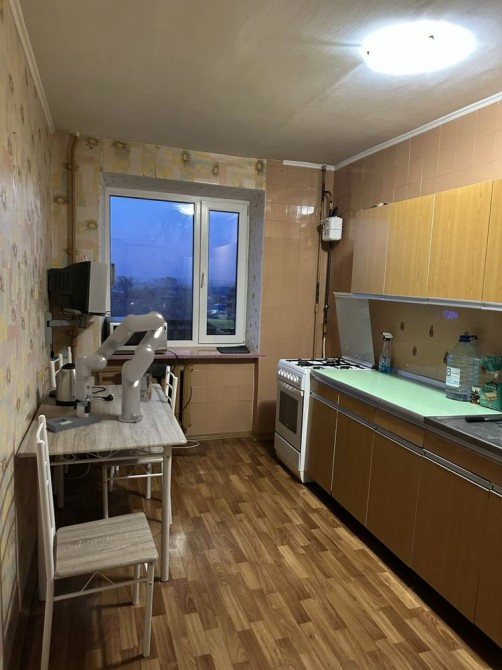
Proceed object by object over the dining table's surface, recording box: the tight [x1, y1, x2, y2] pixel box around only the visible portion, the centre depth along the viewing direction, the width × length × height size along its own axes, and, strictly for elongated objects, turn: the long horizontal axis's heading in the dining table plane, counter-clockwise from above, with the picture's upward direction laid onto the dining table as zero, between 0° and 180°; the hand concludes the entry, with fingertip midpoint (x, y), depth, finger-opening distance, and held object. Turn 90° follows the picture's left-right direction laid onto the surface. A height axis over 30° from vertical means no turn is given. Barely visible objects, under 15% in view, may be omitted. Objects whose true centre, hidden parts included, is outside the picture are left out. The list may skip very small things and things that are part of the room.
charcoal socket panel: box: [46, 412, 101, 433], centre depth 223 cm, size 12×24×3 cm, turn 143°
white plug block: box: [76, 401, 89, 418], centre depth 228 cm, size 4×4×10 cm
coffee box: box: [140, 372, 153, 403], centre depth 274 cm, size 9×6×16 cm
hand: (82, 410), depth 228 cm, fingers open, 9 cm apart
